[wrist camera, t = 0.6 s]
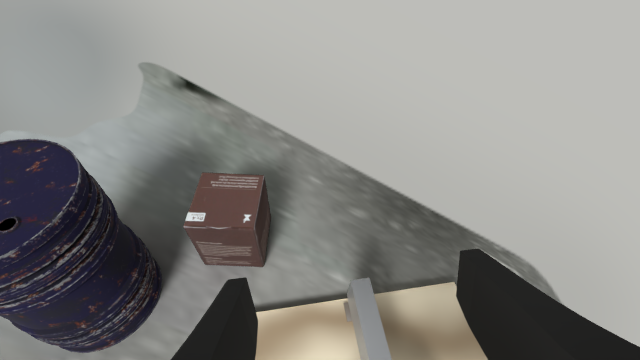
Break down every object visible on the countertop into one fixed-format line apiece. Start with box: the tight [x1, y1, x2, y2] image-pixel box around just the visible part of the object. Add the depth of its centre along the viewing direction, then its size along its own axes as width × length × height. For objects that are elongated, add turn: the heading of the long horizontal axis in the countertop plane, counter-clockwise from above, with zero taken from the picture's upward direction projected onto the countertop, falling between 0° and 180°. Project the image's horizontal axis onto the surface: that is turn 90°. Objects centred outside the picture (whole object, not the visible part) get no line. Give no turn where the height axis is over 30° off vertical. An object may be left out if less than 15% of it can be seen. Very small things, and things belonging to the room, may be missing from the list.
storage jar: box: [0, 139, 162, 353], centre depth 25 cm, size 10×10×15 cm
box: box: [183, 173, 271, 267], centre depth 32 cm, size 6×6×7 cm
